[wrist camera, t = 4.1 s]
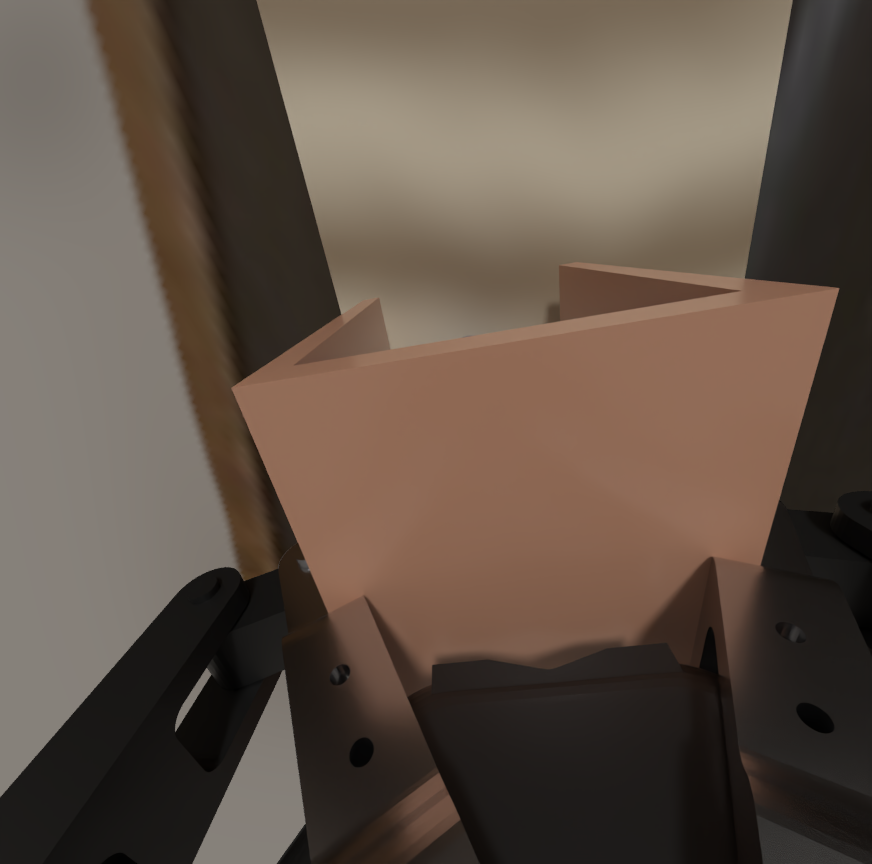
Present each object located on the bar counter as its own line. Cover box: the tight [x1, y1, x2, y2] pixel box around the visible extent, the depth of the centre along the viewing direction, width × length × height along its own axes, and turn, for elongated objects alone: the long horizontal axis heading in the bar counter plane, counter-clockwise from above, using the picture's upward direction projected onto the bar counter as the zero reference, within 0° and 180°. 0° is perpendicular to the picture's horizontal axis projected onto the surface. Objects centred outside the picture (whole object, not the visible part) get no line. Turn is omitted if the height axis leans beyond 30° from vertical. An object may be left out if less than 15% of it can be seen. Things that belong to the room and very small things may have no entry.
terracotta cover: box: [232, 262, 839, 697], centre depth 10 cm, size 10×6×8 cm, turn 10°
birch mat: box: [257, 0, 793, 349], centre depth 12 cm, size 24×13×1 cm, turn 10°
